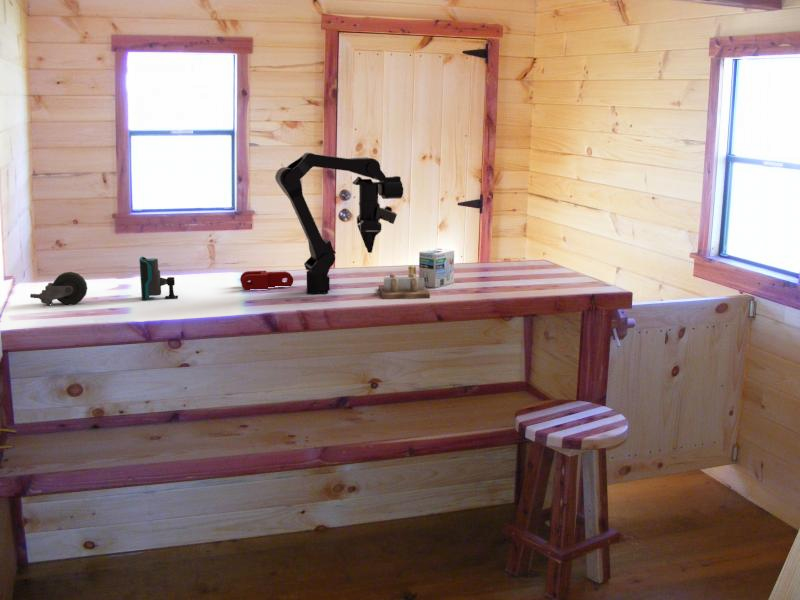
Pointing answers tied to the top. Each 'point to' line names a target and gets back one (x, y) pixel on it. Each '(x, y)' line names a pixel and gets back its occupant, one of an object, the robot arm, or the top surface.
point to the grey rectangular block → (403, 283)
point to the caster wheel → (64, 289)
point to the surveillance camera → (153, 279)
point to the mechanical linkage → (264, 279)
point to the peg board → (404, 293)
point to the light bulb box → (437, 267)
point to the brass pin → (411, 270)
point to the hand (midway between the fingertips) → (368, 250)
